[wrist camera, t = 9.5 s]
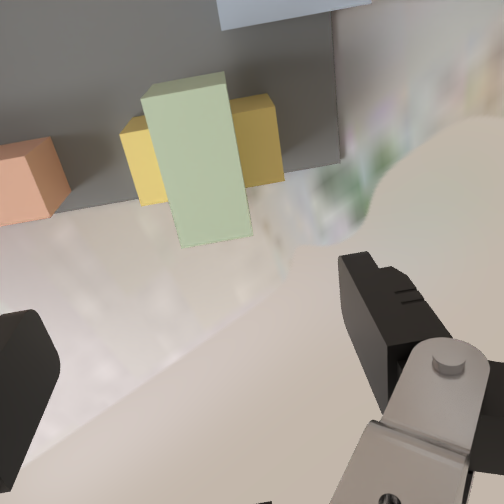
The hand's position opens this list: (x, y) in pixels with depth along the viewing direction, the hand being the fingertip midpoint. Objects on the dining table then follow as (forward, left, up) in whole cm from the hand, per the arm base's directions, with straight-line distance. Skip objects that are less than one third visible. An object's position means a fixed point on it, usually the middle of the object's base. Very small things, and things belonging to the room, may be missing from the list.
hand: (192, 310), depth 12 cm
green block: (0, +1, -13) cm, 13 cm away
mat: (-3, +4, -18) cm, 18 cm away
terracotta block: (-12, 0, -17) cm, 21 cm away
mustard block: (0, 0, -17) cm, 17 cm away
